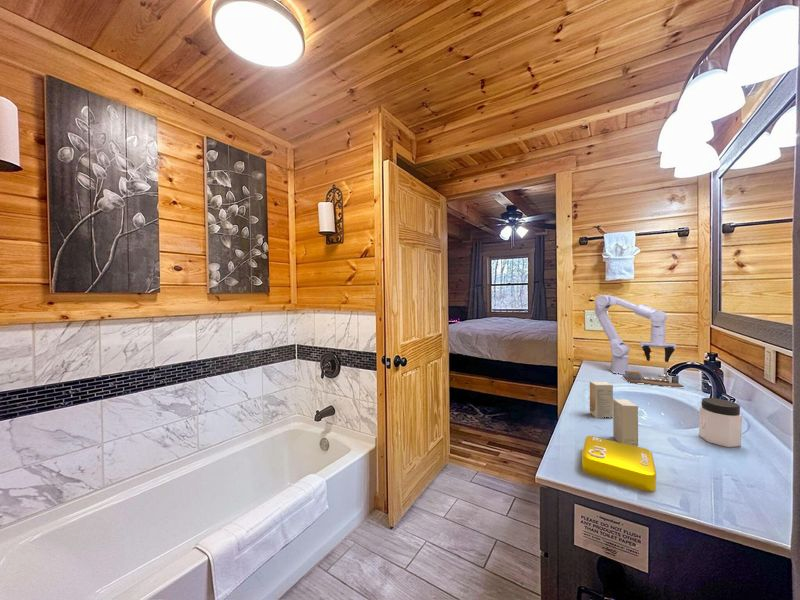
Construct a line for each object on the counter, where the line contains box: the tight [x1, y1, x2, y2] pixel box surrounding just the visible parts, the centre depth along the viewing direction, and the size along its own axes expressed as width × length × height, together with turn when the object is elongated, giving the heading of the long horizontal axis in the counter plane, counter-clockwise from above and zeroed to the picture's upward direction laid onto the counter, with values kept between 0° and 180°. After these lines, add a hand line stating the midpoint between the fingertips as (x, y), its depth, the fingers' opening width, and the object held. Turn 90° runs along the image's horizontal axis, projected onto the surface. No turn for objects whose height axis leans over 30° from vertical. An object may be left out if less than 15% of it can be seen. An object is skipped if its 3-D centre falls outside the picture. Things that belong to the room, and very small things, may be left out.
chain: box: [642, 367, 672, 383], centre depth 153 cm, size 6×10×6 cm, turn 68°
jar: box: [698, 397, 743, 448], centre depth 95 cm, size 9×8×12 cm
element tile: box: [581, 435, 657, 492], centre depth 81 cm, size 15×15×5 cm
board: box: [621, 374, 685, 388], centre depth 154 cm, size 12×21×1 cm, turn 68°
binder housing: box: [624, 370, 642, 381], centre depth 157 cm, size 5×5×4 cm
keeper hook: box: [658, 372, 680, 384], centre depth 152 cm, size 4×7×4 cm, turn 68°
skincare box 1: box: [589, 381, 614, 419], centre depth 113 cm, size 6×4×12 cm
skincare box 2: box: [612, 398, 639, 447], centre depth 94 cm, size 6×4×12 cm
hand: (657, 361), depth 159 cm, fingers open, 7 cm apart
